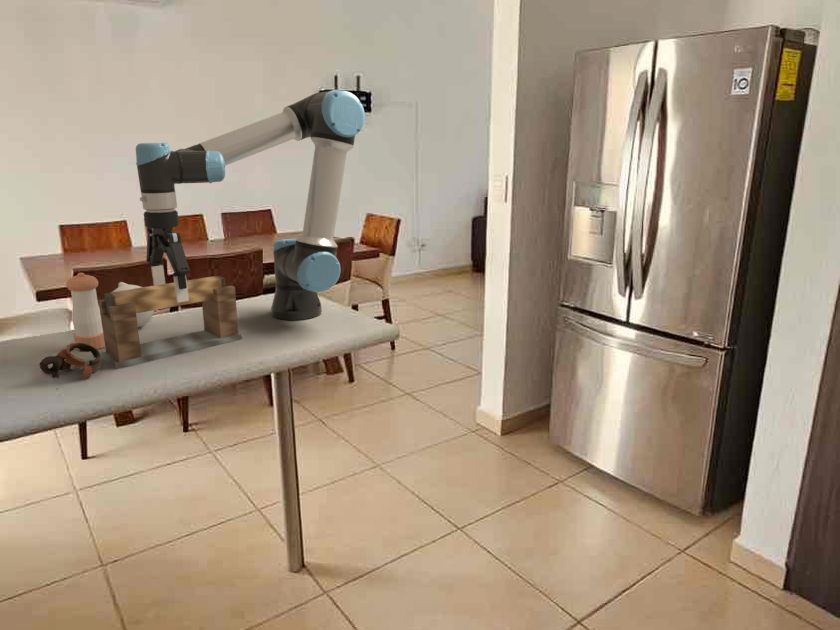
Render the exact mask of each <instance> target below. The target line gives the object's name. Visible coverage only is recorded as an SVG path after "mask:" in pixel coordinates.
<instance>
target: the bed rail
mask: <svg viewBox="0 0 840 630" xmlns="http://www.w3.org/2000/svg"><path fill="white" fill-rule="evenodd" d="M186 280H187V279H186ZM220 287H226V279H225V277H222V276H219V275H214V276H207V277H202V278H201V277H200V278H195V279H188V280H187V288H188V297H189V301H185V302H179V303H177V301H176V293H175V285H174V282H169V283H165V284H162V285H155V286H154V285H150V286H144V287H143V286H142V288H136V289H130V290H124V291H117V292H113V291H111V292H105V293H104V299H105V301H106V308H107V314H108V315H110V310H109V306H115V305H121V304H127V303H133V304H135V309H136V313H141V312H147V311H152V310H158V311H159V310H162V309H167V308H172V307H179V306H183V305H189V304H195V303H202V301H207V300H212V299H214V295H213V289H214V288H220Z"/></svg>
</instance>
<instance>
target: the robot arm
mask: <svg viewBox="0 0 840 630" xmlns="http://www.w3.org/2000/svg"><path fill="white" fill-rule="evenodd" d="M365 118H366V114H365V109H364V106H363V104H362V102H361V101H360V99H359V98H358V97H357V96H356V95H355V94H353V93H352V92H350V91H348V90H342V89H341V90H339V89H333V90H329V91H321V92H316V93H313V94H311V95H308V96H307V97H304V98H303V99H300V100H298V101H297V102H294V103H293V104H290V105H286V106H285V107H284V108H283V109H282V111H281V112H280V113H277V114H275V115H272V116H269V117H266V118H263V119H261V120H258V121H255V122H252V123H250V124H248V125H245V126H241V127H240V128H237V129H234V130H231V131H229V132H228V131H227V132H226V133H224V134H221V135H217V136H215V137H212V138H210V139H208V140H205V141H202V142H199V143H198V144H194V145H192V146H191V145H190V146H189V147H186V148H178V149H177V150H174V151H173V150H172V149H171V147H170V144H169V143H167V142H142V143H138V144H137V145H136V147H135V158H136V163H135V164H136V167H137V169H136V170H137V176H138V182H139V188H140V197H139V200H140V202H141V203H142V209H143V210H145V211H144V213H143V219H144V226H145V227H146V228H147V229H146V232H147V242H146V243H147V245H146V258H145V259H146V262H147V263H149V266H150V267H151V268H150V269H151V275H152V277H151V278H152V284H153V286H155V285H162V284H166V278H165V269H164V264H165V263H164V261H163V257H164V254H166V257H167V259H168V261H169V263H170V266H171V268H172V270H173V273H172V274H171V275H172V277H173V283H174V285H175V293H176V301H177V303H179V302H185V301H189V297H188V288H187V275H188V274H190V273H191V269H190V266H189V263H188V260H187V256H186V254H185V250H184V247H183V243H182V240H181V239H182V238H181V233H179V232H175V233H174V230H173V229H174V228H175V227H178V226H179V224H180V223H179V221H180V220H179V213H178V211H177V210H176V209H177V208H178V204H177V203H178V202H177V195H176V193H177V192H176V187H175V186H176V185H175V184H177V185H181V184H205V183H208V184H212V183H219V182H223V181H224V179H225V177H226V166H228V165H230V164H233V163H236V162H237V161H240V160H242V159H243V160H244V159H245V158H248V157H250V156H253V155H256V154H258V153H261V152H264V151H267V150H269V149H271V148H274V147H277V146H279V145H282V144H284V143H286V142H289V141H291V140H295V141H302V140H305V139H308V138H310V140H311V142H312V143H313V144H314V154H313V158H312V165H311V173H310V180H309V188H308V193H307V200H306V207H305V215H304V219H303V220H304V221H303V228H302V233H301V234H300V235H299V236H298V237H295V238H286V239H277V240H275V241H274V243H273V251H272V254H273V265H274V279H275V291H274V292H275V293H274V296H273V300H272V302H271V303H272V304H271V307H270V309H271V310H270V311H271V316H272V317H273V318H275V319H279V320H286V321H287V320H288V321H299V320H300V321H301V320H308V319H313V318H315V316H316V317H318V316H320V315H322V313H321V312H322V310H323V309H322V303H321V301H320V298H319V296H318V295H319V294H318V293H323V292H325V291H326V292H327V291H328V290H330V289H331V288H332V287H334V286H335V285H336V283H337V282H338V281H339V279H340V275H341V269H342V268H341V263H340V261H339V259H338V257H337V252H338V244H337V243H336V241H335V240H334V237H335V229H336V223H337V217H338V211H339V204H340V198H341V191H342V184H343V179H344V173H345V172H344V171H345V165H346V159H347V153H348V152H349V151H351V150H352V148H354V145H355V139H356V135H358V134H359V133H360V132H361V131H362V129H363V128H364V125H365V121H366V119H365ZM319 314H320V315H319ZM312 317H313V318H312Z"/></svg>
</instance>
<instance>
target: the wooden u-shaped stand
mask: <svg viewBox="0 0 840 630" xmlns="http://www.w3.org/2000/svg"><path fill="white" fill-rule="evenodd" d="M213 295H214V299H212V300H207V301H201V306H202V318H203V319H202V320H203V330H199V331H195V332H194V331H193V332H189V333H186V334H180V335H175V336H172V337H167V338H161V339H158V340H153V341H147V342H143V343H141V341H140V333H139V327H138V324H137V316H136V309H135V304H133V303H127V304H121V305H115V306H109V310H110V315H108V314H107V308H106V301H105V298H103V299H97V301H98V306H99V309H100V315H101V322H102V328H103V335H104V342H105V347H104V349H105V351H102V352H101V357H102V359H103V360H104V361H105V362H107V363H108V364H109V365H110V366H111V367H113V368H114V369H116V370H117V369H122V368H127V367H131V366H135V365H138V364H144V363H148V362H151V361H156V360H160V359H164V358H168V357H173V356H176V355H181V354H184V353H185V354H186V353H189V352H193V351H197V350H203V349H206V348H209V347H210V348H211V347H214V346H218V345H223V344H226V343H227V344H228V343H231V342H232V343H233V342H235V341H239V340H243V333H242V332H239V323H238V309H237V299H236V298H237V297H236V296H237V295H236V287H235V286H233V285H227V286H226V285H225V287H220V288H214V289H213Z"/></svg>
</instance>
